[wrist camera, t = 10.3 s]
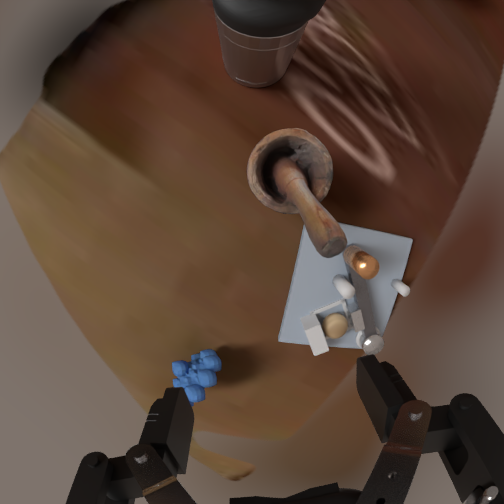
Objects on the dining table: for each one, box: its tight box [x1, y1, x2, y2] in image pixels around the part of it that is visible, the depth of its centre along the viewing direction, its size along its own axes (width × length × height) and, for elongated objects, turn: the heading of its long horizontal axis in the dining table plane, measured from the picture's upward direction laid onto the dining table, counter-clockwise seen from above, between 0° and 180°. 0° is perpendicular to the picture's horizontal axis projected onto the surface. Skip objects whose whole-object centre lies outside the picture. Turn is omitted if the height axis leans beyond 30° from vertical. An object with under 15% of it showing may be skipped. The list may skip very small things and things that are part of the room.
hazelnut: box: [322, 313, 348, 339], centre depth 44 cm, size 4×4×4 cm
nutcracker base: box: [278, 222, 413, 356], centre depth 43 cm, size 20×18×6 cm
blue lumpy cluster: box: [172, 349, 221, 407], centre depth 43 cm, size 12×7×12 cm, turn 138°
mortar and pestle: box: [247, 128, 348, 258], centre depth 32 cm, size 12×9×20 cm
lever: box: [342, 243, 384, 355], centre depth 41 cm, size 19×4×8 cm, turn 20°
